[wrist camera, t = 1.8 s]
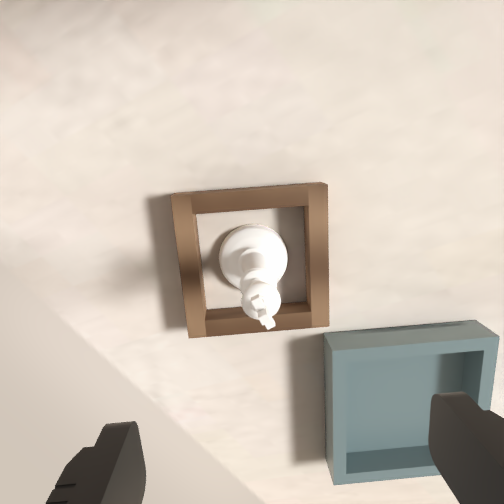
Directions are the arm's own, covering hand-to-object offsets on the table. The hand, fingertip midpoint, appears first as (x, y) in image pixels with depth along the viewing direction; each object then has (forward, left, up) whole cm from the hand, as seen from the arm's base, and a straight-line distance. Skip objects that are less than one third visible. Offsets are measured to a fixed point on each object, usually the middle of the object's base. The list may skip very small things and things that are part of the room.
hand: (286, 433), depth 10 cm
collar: (0, 0, -17) cm, 17 cm away
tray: (+12, +11, -17) cm, 24 cm away
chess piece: (0, 0, -17) cm, 17 cm away
